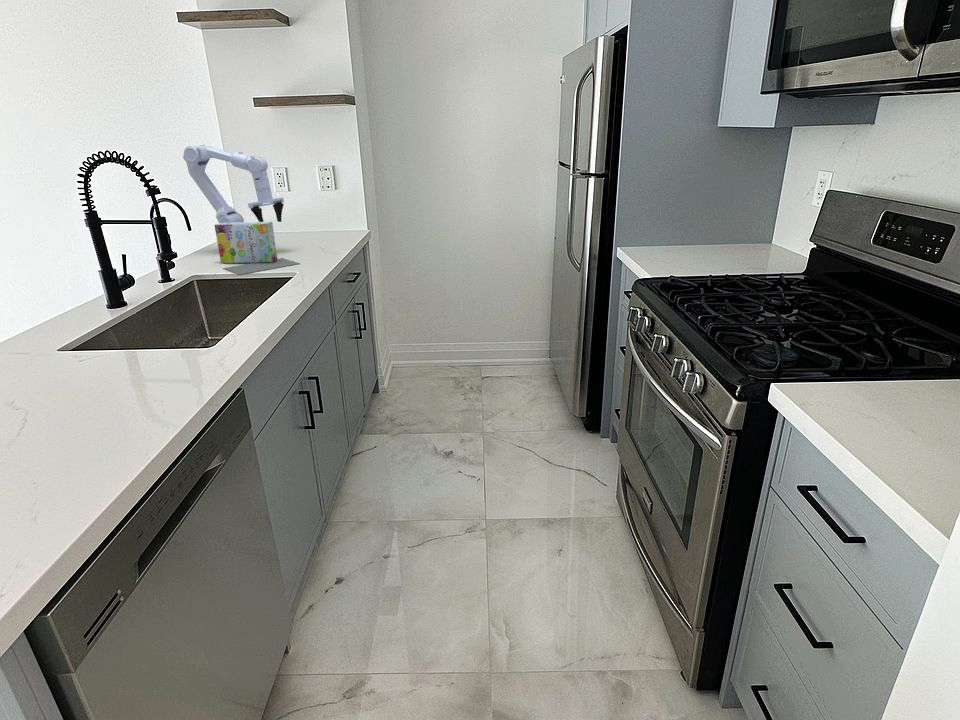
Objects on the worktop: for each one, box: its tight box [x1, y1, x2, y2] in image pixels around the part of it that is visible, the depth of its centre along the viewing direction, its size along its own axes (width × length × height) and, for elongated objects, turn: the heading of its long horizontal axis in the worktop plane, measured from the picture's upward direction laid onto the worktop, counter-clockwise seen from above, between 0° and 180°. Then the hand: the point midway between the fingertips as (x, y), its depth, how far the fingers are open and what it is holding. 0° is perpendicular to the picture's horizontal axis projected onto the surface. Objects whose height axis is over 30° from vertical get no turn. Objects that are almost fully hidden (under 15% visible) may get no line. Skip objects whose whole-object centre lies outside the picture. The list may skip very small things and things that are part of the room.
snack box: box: [214, 221, 278, 264], centre depth 239 cm, size 21×6×15 cm, turn 84°
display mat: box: [222, 257, 301, 276], centre depth 235 cm, size 14×24×1 cm, turn 134°
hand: (271, 223), depth 254 cm, fingers open, 7 cm apart
